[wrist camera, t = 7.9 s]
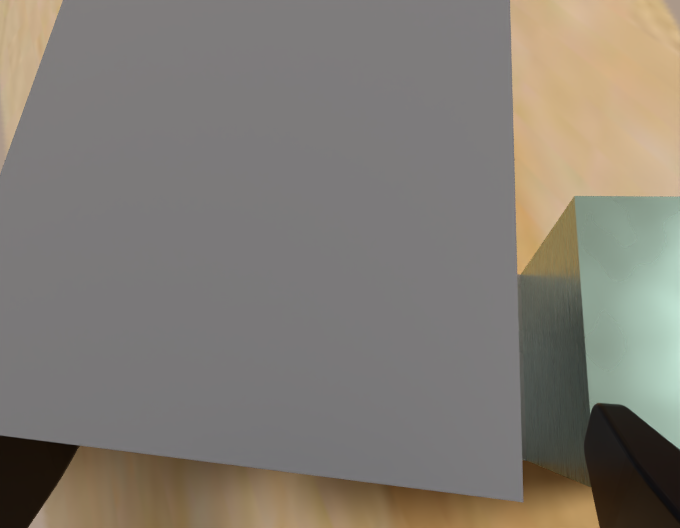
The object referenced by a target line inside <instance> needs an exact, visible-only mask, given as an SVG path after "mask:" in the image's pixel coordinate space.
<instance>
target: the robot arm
mask: <svg viewBox="0 0 680 528" xmlns="http://www.w3.org/2000/svg"><path fill="white" fill-rule="evenodd" d="M79 446H80V445H72V444H64V443H56V442H48V441H41V440H33V439H25V438H17V437H9V436H1V435H0V528H28V527H29V525H30V524H31V522H32V521H33V519H34V518H35V517H36V515H37V514H38V512H39V511H40V509H41V508H42V506H43V505H44V503H45V502H46V500H47V499H48V497H49V496H50V494H51V493H52V491H53V490H54V488H55V487H56V485H57V484H58V482H59V481H60V479H61V477H62V476H63V474H64V472H65V471H66V469H67V467H68V465H69V464H70V462H71V460H72V458H73V457H74V455H75V453H76V451H77V449H78V448H79ZM584 455H585V460H586V465H587V470H588V474H589V479H590V484H591V489H592V493H593V498H594V503H595V507H596V512H597V517H598V521H599V526H600V528H680V449H679V448H678V447H676V446H675V445H674V444H673V443H671V442H670V441H669V440H668V439H666V438H665V437H664V436H663V435H661V434H660V433H659V432H658V431H656V430H655V429H654V428H653V427H651V426H650V425H649V424H648V423H646V422H645V421H644V420H643V419H641V418H640V417H639V416H638V415H637V414H635V413H634V412H633V411H632V410H630V409H629V408H628V407H626V406H624V405H621V404H610V403H597V404H595V405H594V406H593V408H592V410H591V414H590V418H589V423H588V427H587V431H586V435H585V439H584Z"/></svg>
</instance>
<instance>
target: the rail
mask: <svg viewBox="0 0 680 528" xmlns="http://www.w3.org/2000/svg"><path fill="white" fill-rule="evenodd" d="M517 285H518V322H519V359H520V396H521V433H522V460H526V461H529V462H531V463H534V464H536V465H538V466H541V467H543V468H546V469H548V470H551V471H553V472H555V473H558V474H560V475H563V476H565V477H567V478H570V479H572V480H575V481H577V482H580V483H582V484H584V485H587V486H589V487H591V484H590V479H589V474H588V470H587V465H586V460H585V455H584V439H585V435H586V431H587V427H588V423H589V418H590V414H591V410H592V408H593V406H594V405H595V404H597V403H610V404H621V405H624V406H626V407H628V408H629V409H630V410H632V411H633V412H634V413H635V414H637V415H638V416H639V417H640V418H641V419H643V420H644V421H645V422H646V423H648V424H649V425H650V426H651V427H653V428H654V429H655V430H656V431H658V432H659V433H660V434H661V435H663V436H664V437H665V438H666V439H668V440H669V441H670V442H671V443H673V444H674V445H675V446H676V447H678V448H679V449H680V197H631V196H574V198H573V199H572V201H571V202H570V203H569V205H568V206H567V208H566V209H565V211H564V212H563V214H562V215H561V217H560V218H559V220H558V221H557V223H556V224H555V225H554V227H553V228H552V230H551V231H550V233H549V234H548V236H547V237H546V239H545V240H544V242H543V243H542V244H541V246H540V247H539V249H538V250H537V252H536V253H535V255H534V256H533V258H532V259H531V261H530V262H529V264H528V265H527V266H526V268H525V269H524V271H523V272H522V274H521V275H517Z"/></svg>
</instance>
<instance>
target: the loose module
mask: <svg viewBox="0 0 680 528" xmlns="http://www.w3.org/2000/svg"><path fill="white" fill-rule="evenodd" d="M0 435H1V436H9V437H17V438H25V439H33V440H41V441H48V442H56V443H64V444H72V445H80V446H87V447H95V448H103V449H111V450H119V451H127V452H134V453H142V454H150V455H158V456H166V457H173V458H181V459H189V460H197V461H205V462H213V463H220V464H228V465H236V466H244V467H252V468H260V469H267V470H275V471H283V472H291V473H299V474H306V475H314V476H322V477H330V478H338V479H346V480H353V481H361V482H369V483H377V484H385V485H392V486H400V487H408V488H416V489H424V490H432V491H439V492H447V493H455V494H463V495H471V496H479V497H486V498H494V499H502V500H510V501H518V502H523V470H522V433H521V396H520V359H519V322H518V285H517V247H516V210H515V173H514V136H513V99H512V62H511V25H510V0H63V2H62V5H61V7H60V10H59V13H58V16H57V19H56V21H55V24H54V27H53V30H52V32H51V35H50V38H49V41H48V43H47V46H46V49H45V52H44V55H43V57H42V60H41V63H40V66H39V68H38V71H37V74H36V77H35V79H34V82H33V85H32V88H31V91H30V93H29V96H28V99H27V102H26V104H25V107H24V110H23V113H22V115H21V118H20V121H19V124H18V127H17V129H16V132H15V135H14V138H13V140H12V143H11V146H10V149H9V151H8V154H7V157H6V160H5V163H4V165H3V168H2V171H1V174H0Z"/></svg>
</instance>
